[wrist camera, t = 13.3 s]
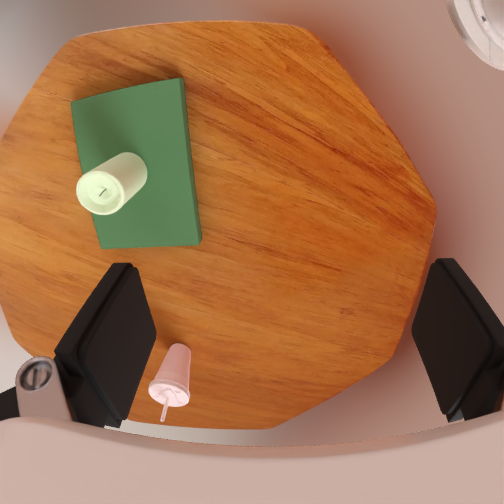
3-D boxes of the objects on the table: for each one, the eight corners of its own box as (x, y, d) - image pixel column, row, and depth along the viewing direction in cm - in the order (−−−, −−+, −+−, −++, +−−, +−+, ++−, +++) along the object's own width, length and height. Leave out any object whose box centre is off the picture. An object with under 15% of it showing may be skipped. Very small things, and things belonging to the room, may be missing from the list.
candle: (156, 172, 34) (128, 196, 27) (130, 200, 36) (101, 230, 29) (126, 143, 32) (92, 160, 25) (102, 172, 34) (67, 196, 27)
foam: (78, 100, 32) (70, 102, 30) (183, 78, 31) (179, 77, 29) (107, 242, 41) (101, 249, 40) (202, 237, 40) (199, 245, 39)
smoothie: (161, 357, 52) (140, 422, 40) (163, 333, 49) (140, 402, 37) (196, 366, 53) (182, 433, 41) (201, 343, 50) (186, 414, 38)
